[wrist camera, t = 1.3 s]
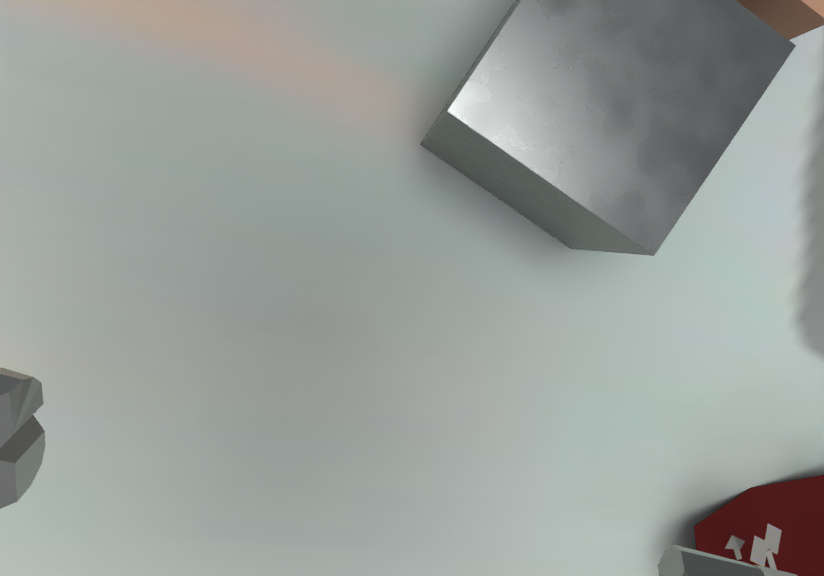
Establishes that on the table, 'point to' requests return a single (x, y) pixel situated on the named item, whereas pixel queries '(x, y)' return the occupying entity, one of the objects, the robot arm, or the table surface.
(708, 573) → the robot arm
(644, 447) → the table surface
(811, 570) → the alarm clock
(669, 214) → the iron bookend
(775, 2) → the terracotta book
